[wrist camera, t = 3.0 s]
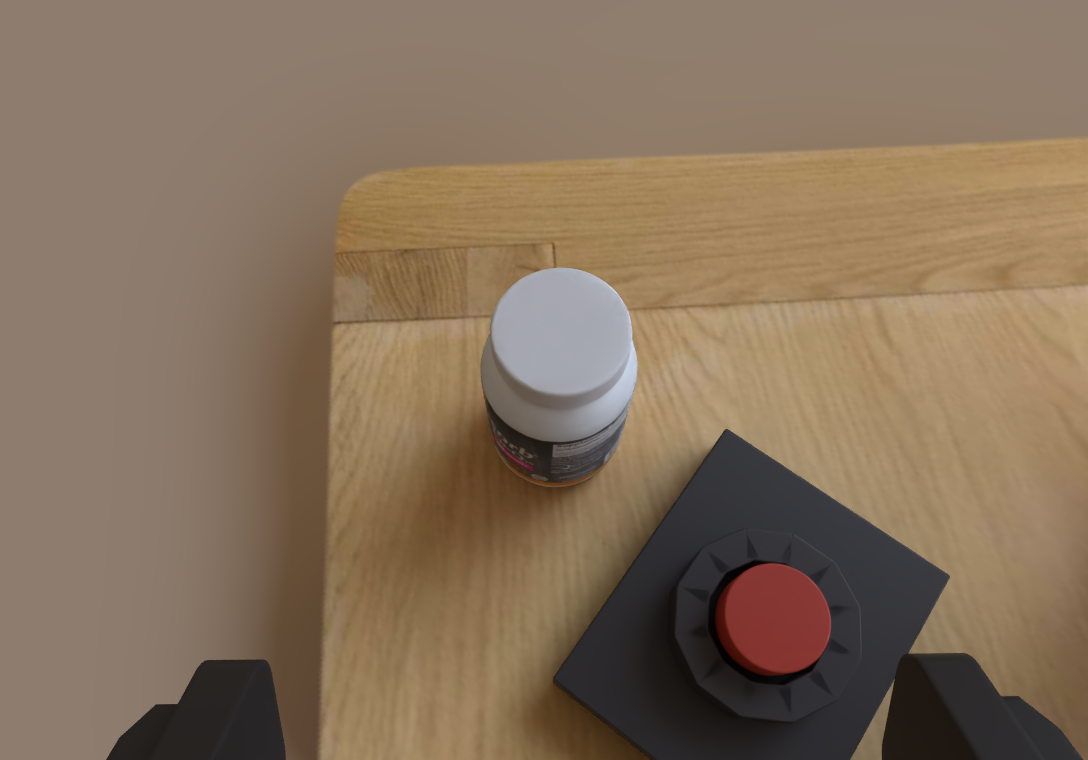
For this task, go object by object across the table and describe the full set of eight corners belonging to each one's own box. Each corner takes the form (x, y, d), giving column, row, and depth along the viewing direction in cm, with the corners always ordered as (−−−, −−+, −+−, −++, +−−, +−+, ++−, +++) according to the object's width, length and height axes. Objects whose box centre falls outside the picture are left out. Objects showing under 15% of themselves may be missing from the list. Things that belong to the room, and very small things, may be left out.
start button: (783, 698, 28) (797, 697, 27) (695, 633, 29) (703, 628, 28) (834, 611, 29) (851, 605, 28) (747, 551, 30) (759, 541, 29)
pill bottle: (467, 408, 36) (439, 303, 27) (576, 345, 37) (585, 224, 28) (534, 516, 34) (530, 443, 25) (647, 447, 36) (682, 353, 26)
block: (775, 857, 30) (807, 877, 26) (551, 681, 32) (552, 677, 28) (926, 584, 33) (974, 567, 30) (716, 444, 36) (735, 412, 32)
